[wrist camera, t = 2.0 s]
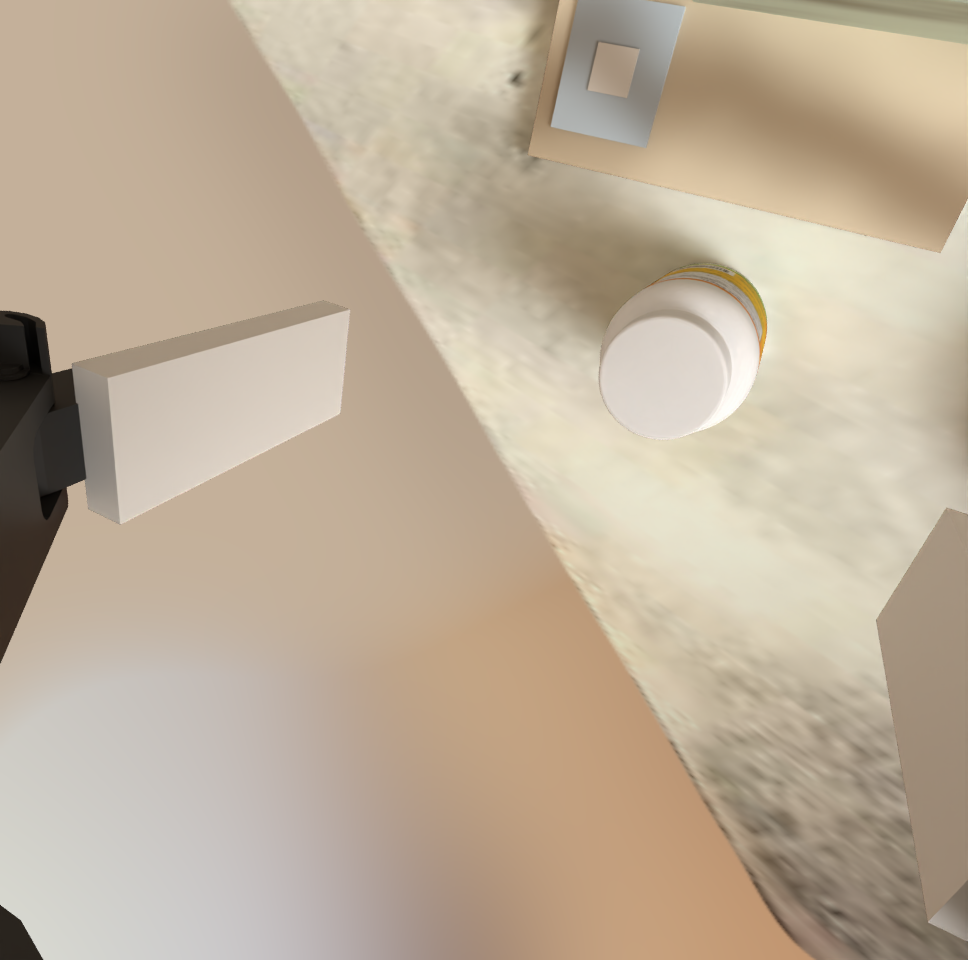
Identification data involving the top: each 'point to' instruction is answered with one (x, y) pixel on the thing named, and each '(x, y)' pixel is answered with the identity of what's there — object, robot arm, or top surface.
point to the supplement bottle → (683, 352)
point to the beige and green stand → (770, 106)
